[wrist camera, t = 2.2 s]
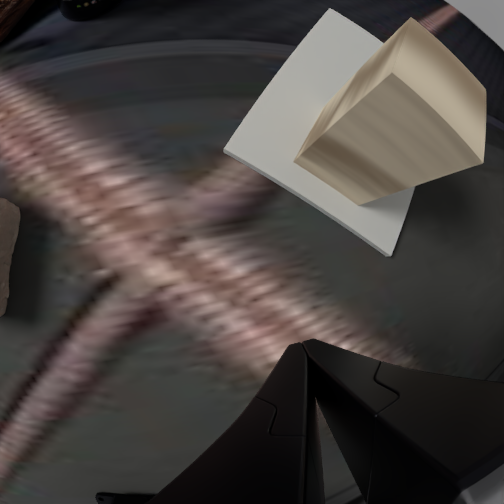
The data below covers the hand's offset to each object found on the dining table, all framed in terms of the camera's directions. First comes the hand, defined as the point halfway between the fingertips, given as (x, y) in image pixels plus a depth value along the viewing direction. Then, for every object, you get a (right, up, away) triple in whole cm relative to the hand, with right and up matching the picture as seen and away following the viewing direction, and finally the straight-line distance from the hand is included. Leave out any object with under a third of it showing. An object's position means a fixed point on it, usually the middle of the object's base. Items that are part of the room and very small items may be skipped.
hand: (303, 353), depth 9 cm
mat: (+7, +15, +12) cm, 21 cm away
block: (+5, +10, +11) cm, 16 cm away
